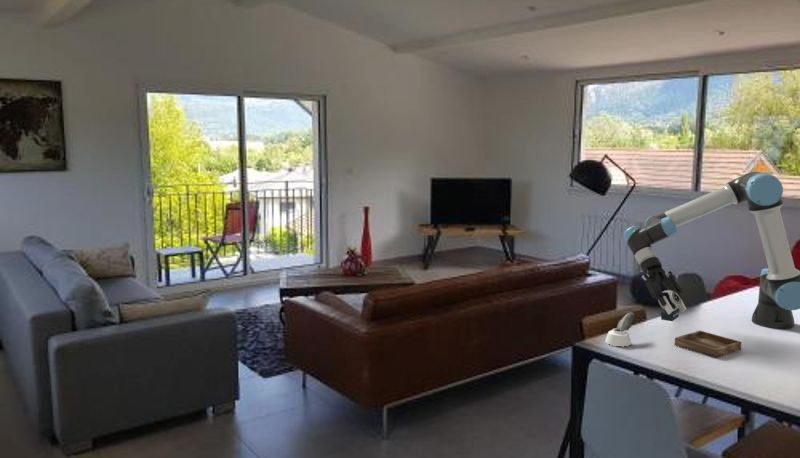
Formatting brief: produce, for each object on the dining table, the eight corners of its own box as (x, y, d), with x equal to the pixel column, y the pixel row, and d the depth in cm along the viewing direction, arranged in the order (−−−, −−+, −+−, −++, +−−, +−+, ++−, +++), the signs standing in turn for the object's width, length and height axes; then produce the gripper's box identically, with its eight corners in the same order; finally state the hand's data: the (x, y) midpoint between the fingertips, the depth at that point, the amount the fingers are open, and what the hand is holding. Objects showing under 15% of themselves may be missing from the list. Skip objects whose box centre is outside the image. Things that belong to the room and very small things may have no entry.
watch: (677, 322, 236) (676, 294, 233) (656, 318, 242) (655, 291, 239) (683, 317, 239) (682, 290, 237) (663, 313, 245) (661, 287, 243)
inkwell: (601, 343, 234) (602, 317, 232) (619, 332, 247) (621, 307, 246) (625, 349, 228) (626, 322, 226) (643, 337, 241) (644, 312, 240)
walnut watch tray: (699, 337, 240) (699, 330, 240) (740, 349, 227) (741, 341, 227) (674, 345, 231) (675, 337, 231) (716, 358, 218) (716, 350, 218)
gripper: (661, 264, 255) (690, 313, 242) (624, 268, 248) (652, 319, 236) (672, 254, 249) (702, 304, 236) (634, 257, 243) (663, 309, 230)
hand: (677, 311), depth 236 cm, fingers closed on watch, 6 cm apart
